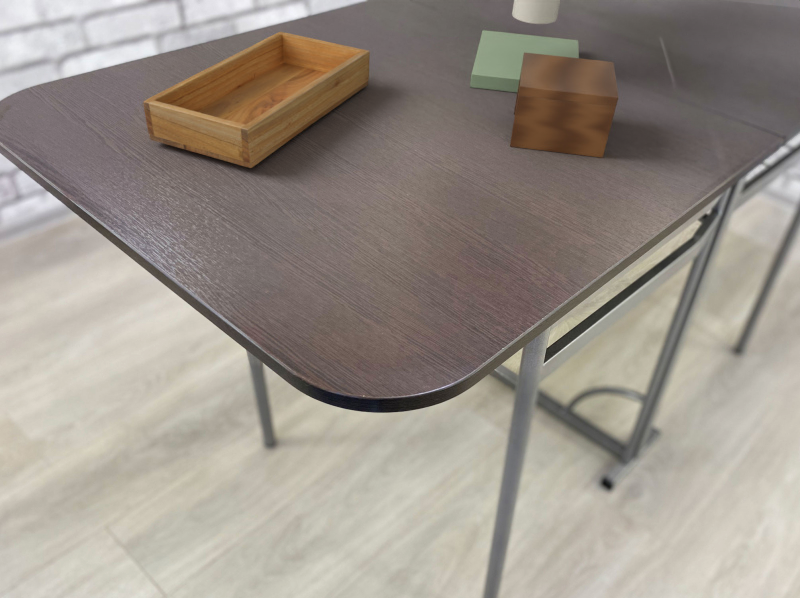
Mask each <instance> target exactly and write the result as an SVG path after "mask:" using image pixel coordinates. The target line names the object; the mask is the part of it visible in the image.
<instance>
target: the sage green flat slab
mask: <svg viewBox="0 0 800 598" xmlns="http://www.w3.org/2000/svg"><path fill="white" fill-rule="evenodd" d="M478 43H479V44H478V47H477V51H476V55H475V59H474V63H473V67H472V71H471V75H470V84H469V85H470V86H469V88H474V89H482V90H483V89H484V90H490V91H500V92H508V93H516V94H517V91H518V85H519V79H520V73H521V67H522V61H523V55H524V52H525V53H534V54H543V55H553V56H562V57H571V58H580V53H579V52H580V51H579V40H578V39H568V38H561V37H550V36H541V35H533V34H532V35H531V34H523V33H515V32H514V33H513V32H506V31H505V32H503V31H494V30H485V29H483V30H482V32H481V35H480V40H479V42H478Z"/></svg>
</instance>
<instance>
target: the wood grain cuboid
mask: <svg viewBox="0 0 800 598" xmlns="http://www.w3.org/2000/svg"><path fill="white" fill-rule="evenodd" d="M618 101H619V91H618V85H617V77H616V70H615V63H614V61H606V60H597V59H587V58H580V57H579V58H571V57H562V56H553V55H543V54H534V53H525V52H524V55H523V61H522V67H521V73H520V79H519V85H518V91H517V93H516V97H515V104H514V111H513V115H514V118H513V124H512V130H511V134H510V135H511V136H510V143H509V147H510V148H511V147H512V148H519V149H527V150H534V151H535V150H537V151H545V152H551V153H561V154H569V155H578V156H587V157H594V158H604V154H605V151H606V147H607V144H608V140H609V136H610V132H611V127H612V124H613V120H614V117H615V112H616V109H617V105H618Z"/></svg>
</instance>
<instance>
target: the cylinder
mask: <svg viewBox="0 0 800 598" xmlns="http://www.w3.org/2000/svg"><path fill="white" fill-rule="evenodd" d="M560 5H561V0H513V6H512V13H511V15H512V17H513V18H514V19H515V20H517V21H520V22H523V23H526V24H527V23H528V24H532V25H535V24H536V25H547V24H552V23H555V22H556V21H557V20H558V16H559V11H560Z"/></svg>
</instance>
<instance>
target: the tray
mask: <svg viewBox="0 0 800 598" xmlns="http://www.w3.org/2000/svg"><path fill="white" fill-rule="evenodd" d="M370 54H371V50H367V49H363V48H358V47H354V46H349V45H346V44H345V45H344V44H339V43H336V42H330V41H326V40H321V39H317V38H312V37H308V36H303V35H298V34H293V33H289V32H284V31H279V32H276V33H274V34H272V35H270V36H268V37H266V38H265V39H263V40H261V41H259V42H256V43H255V44H253V45H251V46H249V47H247V48H244V49H243V50H240V51H239V52H237V53H235V54H233V55H231V56H229V57H226V58H225V59H223V60H221V61H218V62H217V63H215V64H213V65H211V66H209V67H208V68H205V69H204V70H202V71H199V72H197V73H195V74H194V75H192V76H190V77H188V78H186V79H183V80H182V81H180V82H177V83H176V84H174V85H172V86H170V87H168V88H166V89H163V90H162V91H161V92H158V93H156V94H155V95H152V96H150V97H149V98H146V99H145V100H144V101H142V104H143V111H144V116H145V117H144V118H145V122H146V128H147V129H146V130H147V133H148V137H149V139H150V140H151V141H153V142H158V143H160V144H164V145H168V146H171V147H175V148H178V149H181V150H185V151H188V152H193V153H197V154H200V155H204V156H206V157H211V158H214V159H217V160H221V161H224V162H228V163H231V164H235V165H238V166H242V167H245V168H249V169H252V168H254V167H255V166H257V165H258V164H260V163H261V162H262V161H263V160H265V159H266V158H267V157H269V156H270V155H271V154H272V153H274V152H276V151H277V150H279V148H281V147H282V146H284V145H285V144H287V143H288V142H289V141H290V140H292V139H294V138H295V137H296V136H297V135H299V134H301V133H302V132H303V131H305V130H306V129H307V128H309V127H310V126H312V125H313V124H314V123H316V122H317V121H318V120H320V119H321V118H323V117H324V116H326V115H327V114H328V113H330V112H331V111H333V110H334V109H335V108H337V107H339V106H340V105H341V104H343V103H344V102H346V101H347V100H348V99H350V98H351V97H353V96H355V95H356V94H357V93H359V92H360V91H361V90H362V89H364V88H366V87H367V86H368V85H369V82H370V81H369V80H370V59H371V57H370V56H371V55H370Z"/></svg>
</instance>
